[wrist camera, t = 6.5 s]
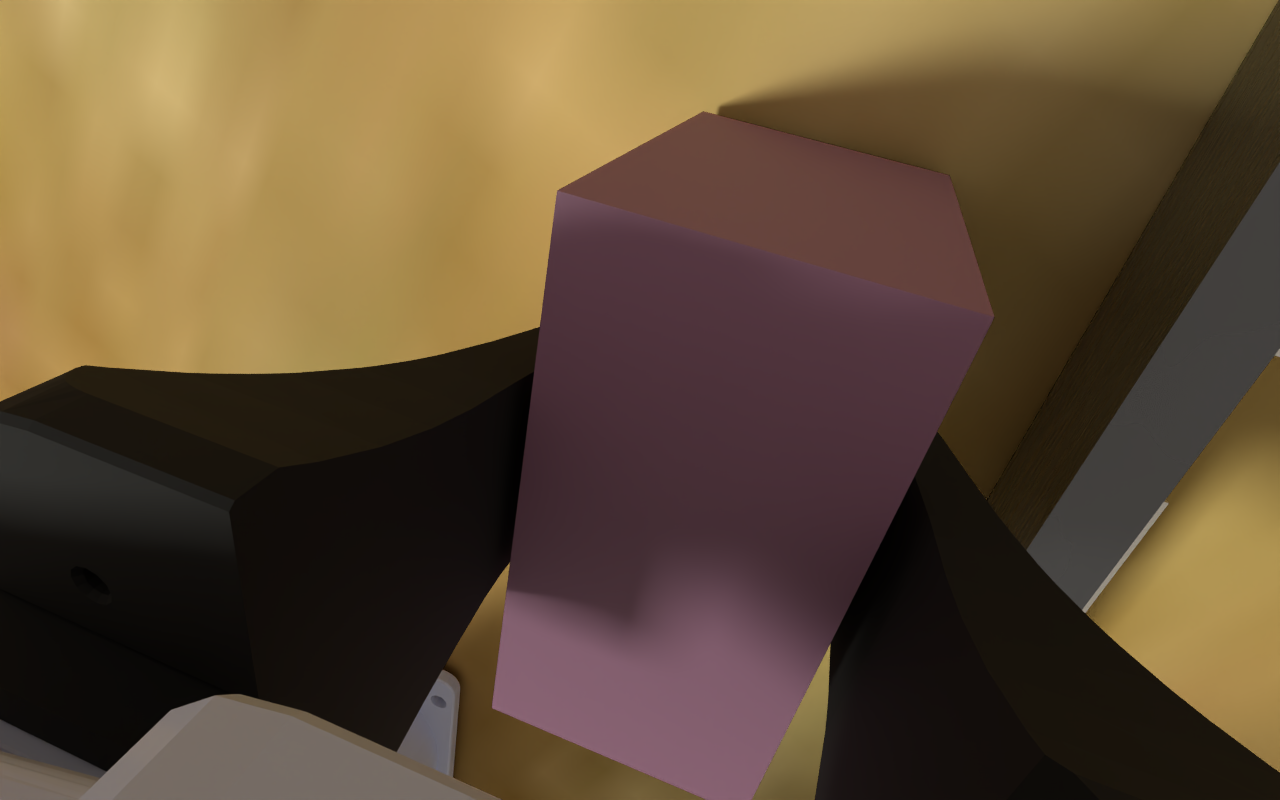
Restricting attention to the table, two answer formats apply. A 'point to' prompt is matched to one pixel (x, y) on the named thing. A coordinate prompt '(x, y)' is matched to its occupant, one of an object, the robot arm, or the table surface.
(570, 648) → the carton
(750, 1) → the table surface
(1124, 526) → the price rail
